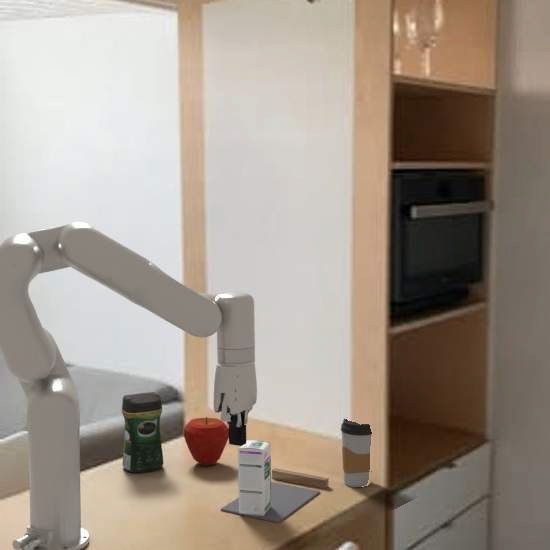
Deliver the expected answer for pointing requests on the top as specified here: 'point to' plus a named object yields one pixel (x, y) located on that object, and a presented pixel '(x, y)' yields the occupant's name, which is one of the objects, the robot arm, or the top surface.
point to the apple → (206, 439)
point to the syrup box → (254, 477)
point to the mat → (279, 502)
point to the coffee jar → (142, 432)
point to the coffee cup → (356, 453)
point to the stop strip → (300, 478)
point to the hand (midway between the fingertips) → (237, 443)
